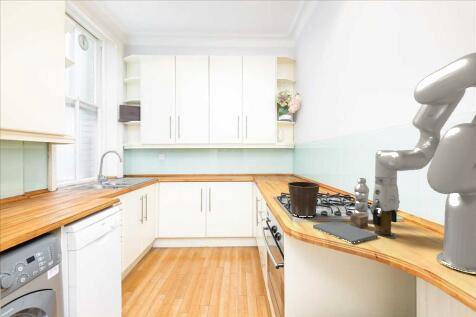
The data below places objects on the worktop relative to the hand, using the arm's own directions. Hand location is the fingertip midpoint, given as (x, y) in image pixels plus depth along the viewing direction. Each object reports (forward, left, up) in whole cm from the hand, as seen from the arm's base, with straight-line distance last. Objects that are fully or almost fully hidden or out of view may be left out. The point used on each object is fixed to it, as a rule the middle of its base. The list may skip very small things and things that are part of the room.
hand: (384, 223), depth 100 cm
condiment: (0, 0, -5) cm, 5 cm away
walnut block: (+11, +1, -4) cm, 12 cm away
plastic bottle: (+16, -7, -4) cm, 18 cm away
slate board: (+9, +13, -4) cm, 16 cm away
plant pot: (+36, +11, -5) cm, 38 cm away
